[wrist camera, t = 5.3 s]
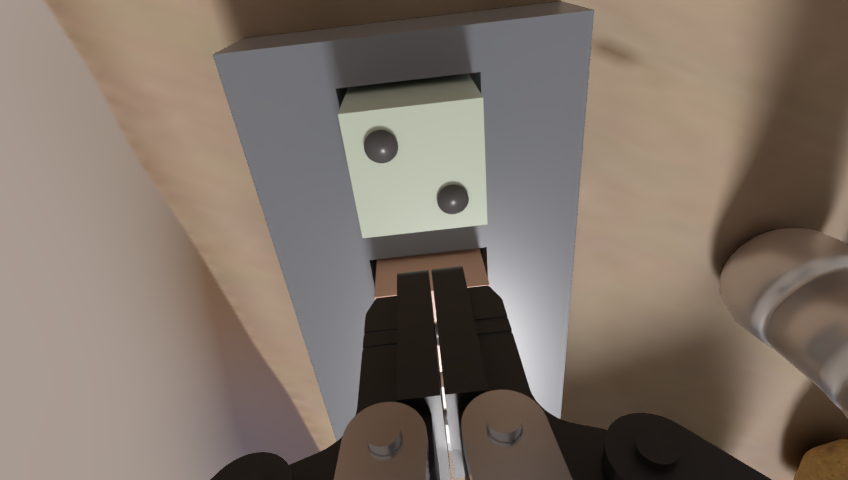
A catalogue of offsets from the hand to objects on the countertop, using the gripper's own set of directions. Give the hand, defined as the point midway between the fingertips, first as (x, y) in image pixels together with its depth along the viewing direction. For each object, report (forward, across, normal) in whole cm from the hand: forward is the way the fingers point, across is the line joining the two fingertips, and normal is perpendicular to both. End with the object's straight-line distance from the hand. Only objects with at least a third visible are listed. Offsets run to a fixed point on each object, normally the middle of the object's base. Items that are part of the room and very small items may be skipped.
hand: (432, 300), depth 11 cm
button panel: (+14, 0, +8) cm, 16 cm away
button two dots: (+12, 0, 0) cm, 12 cm away
